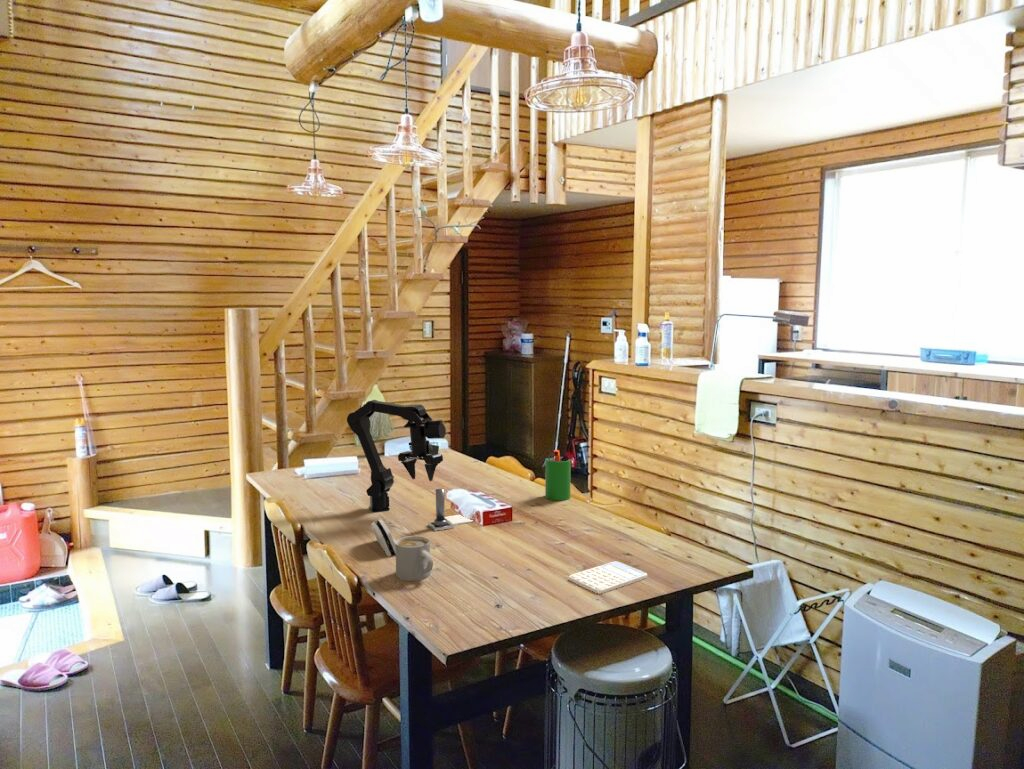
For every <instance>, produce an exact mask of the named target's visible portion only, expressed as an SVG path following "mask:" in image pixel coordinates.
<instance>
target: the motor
mask: <svg viewBox="0 0 1024 769" xmlns="http://www.w3.org/2000/svg"><path fill="white" fill-rule="evenodd" d="M553 457H554V460H551V459H550V457H547V458H545V459H544V460H545V475H544V476H545V480H544V481H545V486H544V488H545V489H544V490H545V491H544V492H545V499H547V500H551V501H566V500H570V499H571V481H572V480H571V466H572V465H571V463H572V462H571V460H572V459H571V458H569V459H568V460H566V461H565V460H561V454H560V450H559V449H554V450H553Z"/></svg>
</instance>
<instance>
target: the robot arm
mask: <svg viewBox="0 0 1024 769" xmlns="http://www.w3.org/2000/svg"><path fill="white" fill-rule="evenodd" d="M375 412H376V413H379V414H385V415H392V416H397V417H400V418H402V419H403V420H406V421H407V422H406V423H405V424H404V425H403V427H404V428H405V429H406V428H409V434H410V442H408V446H410V447H411V450H407V451H402V452H400V453H399V454H398V455H397V458H398V459H397V460H398V462H400V464H402V465H403V467H404V468H405V469H406V471H407V473H409V474H408V475H409V476H410V477H411V478H412V480H415V479H416V463H417V461H418V460H420V461H424V463H425V464H424V468H425V471H426V475H427V479H428V480H429V482H433V480H434V475H435V471H436V468H437V466H438V465H439V464H441V463H442V462H443V461H444V455H443V454H442V453H439V451H440V450H439V449H440V445H435V444H430V440H431V439H444V438H445V436H446V433H447V432H446V431H447V429H446V425H445V423H443V420H442V419H438V420H435V419H434V420H433V419H432V417H431V416H430V415H429V413H428V412H427V410H426V408H425V406H424V405H423V404H399V403H392V402H387V401H379V400H376V399H371V400H369V401H367V402H366V403H365V404H364V405H362V406H361V407H359V408H358V409H356V410H355V411H353V412H350V413H348V415H347V418H346V424H348V426H349V428H350V430H351V431H352V432H353V433H354V434H355V435H356V436H357V437H358V440H359V441H358V442H359V443H360V446H361V448H362V450H363V454H364V455H365V458H366V459H365V460H366V461H367V464H368V466H369V468H370V483H371V485H370V486H369V487H368V488H367V489H366V490H365V492H366V494H367V496H369V506H368V509H370V511H371V512H373V513H377V512H385V511H390V496H389V493H388V492H390V490H391V488H392V487H393V485H394V484H395V481H394V478H395V476H394V475H393V472H392V470H391V468H390V467H389V468H386V467H385V465H384V464H383V462H382V461H383V460H382V458H381V456H380V454H379V452H378V449H377V447H376V444H375V442H374V438H373V436H372V434H371V421H370V418H371V417H372V416H373V415H374V414H375ZM428 439H429V440H428Z"/></svg>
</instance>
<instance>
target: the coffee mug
mask: <svg viewBox="0 0 1024 769" xmlns="http://www.w3.org/2000/svg"><path fill="white" fill-rule="evenodd" d="M430 540H431V539H429V538H428V537H425V536H422V535H421V536H420V535H409V536H405V537H404V536H403V537H400V538H398V539H397V540H395V541H396V554H395V575H396V578H397V579H398V580H401V581H405V582H417V581H421V580H425V579H427V578H428V577H430V575H431V571H432V570H433V567H434V560H433V559H434V558H433V556H432V554H431V545H430V544H431V542H430Z"/></svg>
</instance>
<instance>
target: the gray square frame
mask: <svg viewBox="0 0 1024 769" xmlns="http://www.w3.org/2000/svg"><path fill="white" fill-rule="evenodd" d="M427 526H428V527H429V528H430V529H431V528H432V529H431V530H432V531H434V532H438V531H437V530H440V531H444V529H446V530H451V529H454V528H455V525H453V524H451V523H450V522H449V521H447V526H442V527H435V526H434V521H430V522H427Z"/></svg>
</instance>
